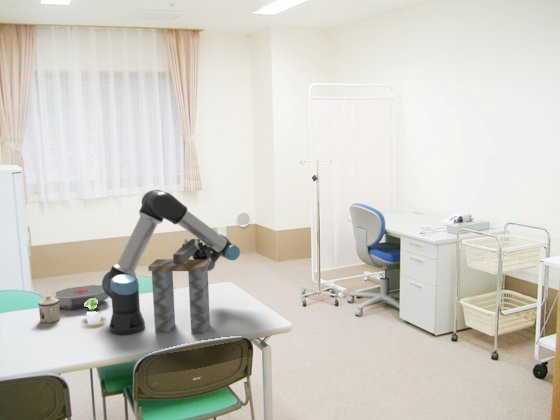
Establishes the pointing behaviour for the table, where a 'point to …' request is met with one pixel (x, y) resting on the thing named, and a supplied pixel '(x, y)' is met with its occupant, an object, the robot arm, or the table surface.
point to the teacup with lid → (49, 309)
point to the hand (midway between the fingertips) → (190, 242)
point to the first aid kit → (79, 296)
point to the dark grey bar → (185, 252)
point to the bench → (165, 294)
